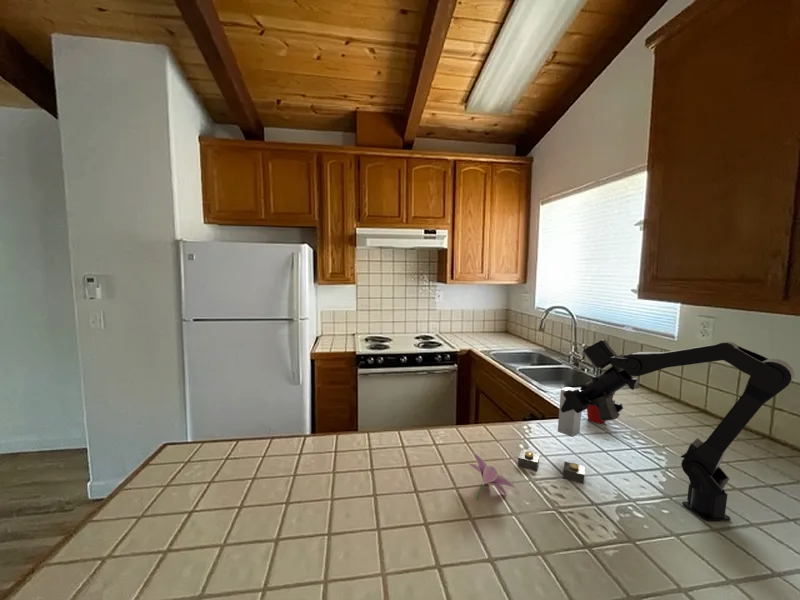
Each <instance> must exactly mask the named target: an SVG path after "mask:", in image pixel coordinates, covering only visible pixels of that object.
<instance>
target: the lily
mask: <svg viewBox="0 0 800 600" xmlns="http://www.w3.org/2000/svg"><path fill="white" fill-rule="evenodd" d="M471 453H472V455H473V457H474V458H475V461H476V463H477V464H476V463H470V462H469V463H468V465H469V466H470V467H472V468H473V469H475V470H476V471H478V473H480V475H481V478H482V484H481V486H480V489H479V491H478V495H477V498H476V501H478V500H479V498H480V494H481V491H482V489H483V487H484V485H486V484H490V485H494V486H496V488H498V490H500V491H501V493H503V495H505V496H507V495H508V494H507V492H506V490H505V488H504V487H503V486H506V487H510V488H514V489H517V487H516V486H515V484H513V483H512V482H511V481H510V480H509V479H507V478H506V477H505V476H503V475H501V474H498V472H497V469H496V468H495V466H493V465H488V464H487V463H486V461H485V460H484V459H483V458H482V457H480V456H479V455H478V454H477V453H476V452H474V451H471Z"/></svg>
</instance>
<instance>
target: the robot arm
mask: <svg viewBox="0 0 800 600" xmlns="http://www.w3.org/2000/svg"><path fill="white" fill-rule="evenodd" d="M582 353H583V354H584V355H585V357H586V358H587V359H588V360H589V362H590V364H592V366H593V368H595V369H597V370H598V369H600V370H601V371H603V370H605V371H603V372H602V373H600V374H598V375H597V376H594V377H593V378H591V380H590V381H588V382H586V383H584V384H582V385H580V389H578V388H575V387H571V388H572V389H569V390H567V391H566V392H564V393H563V395H564V397H565V398H566V399H565V402H564V404H563V406H562V408H561V411H562V412H563V413H564V412H567V411H570V410H573V409H574V411H575V412H576V413H580V412H581V413H582V412H584V411H587V408H588V407H589V405H593V406H595V405H597V409H598V411H599V414H600V419H601V420H602V421H605V422H606V421H614V420H616V419H619V417H620V415H621V414H620V412H622V411H623V410H624V407H623V404H622V403H619V402H616V400H614V398H612V397H611V396H613V395H614V394H616V392H618V391H619V390H621V389H623V388H624V387H626V386H628V387H629V389H630V390H636V389H638V388H639V380H640V379H639V378H636V377H641V376H644V375H648V374H651V373H653V372H657V371H660V370H663V369H667V368H672V367H673V368H674V367H682V366H690V365H696V364H703V363H712V362H719V361H724V362H726V363H728V364H729V365H731V366H733V367H734V368H736V369H737V370H739V371H741V373H744V374H746V375H748V376H749V379H748V380H747V381H746V385H745V388H744V390H743V392H742V395H741V396H740V397H739V398H738V400H737V401H736V402H735V404H733V406H732V407H731V408H730V409H729V411H728V412H727V414H726V415H725V416H724V417H723V418H722V420H721V421H720V422H719V424H718V425H717V426H716V427H715V429H714V430H713V431H712V432H711V434H710V435H709V436H708V438H707V439H705V440H704V441H702V440H700V439H699V438H698V437H696V438H695V439H694V440H692V442H691V443H690V444H689V446H688V449H686V450H685V451H684V452H683V453H682V454H681V456H680V457H681V458H682V461H681V463H680V465H681V468H682V471H683V472H684V474H685V475H686V476H687V477H688V479H689V484H688V490H687V498H686V500H685V501H683V500H682V502H681V504H682V505H683V506H685V507H686V508H687V509H689V510H690V511H692V512H693V513H694V514H696V515H697V516H698V517H700V518H702V519H703V520H704V521H707V522H716V521H717V522H718V521H731V517H730V516H729V515H728V514H726V511H727V503H728V502H727V501H728V495H729V494H728V493H727V492H725V490H724V488H725V487H726V485H727V484H728V482H729V480H730V477H729V476H728V475H727V474H726V472H725V471H724V470H723V469H722V468H721V467H720V466H721V463H722V461H723V459H724V456H725V453H726V451H727V449H728V447H730V445H731V444H732V442H734V440H735V439H736V438H737V437H738V435H740V433H741V432H742V431H743V429H744V428H745V427H746V426H747V425H748V423H749V422H750V420H752V418H753V417H754V416H755V415H756V413H757V412H758V411H759V410H760V408H761V407H762V406H763V405H764V404H765V403H767V402H768V401H770V400H771V399H772V398H774V397H775V396H776V395H779V393H780V392H782V391H783V390H785V389H786V388H787V387H788V386H789V385H790V384H791V383H792V381H793V380H794V377H795V370H794V369H793V367H792V366H791V365H790V364H789V363H788V362H786V361H784V360H782V359H779V358H768V357H767V356H763V355H762V354H759V353H757V352H755V351H752V350H749V349H746V348H744V347H742V346H739V345H738V344H737V343H735V342H732V341H722V342H719V343H716V344H709V345H703V346H697V347H696V346H695V347H690V348H684V349H677V350H672V351H662V352H661V351H638V352H633V353H630V354H617V353H616V352H615V351H614V349H612V347H611V346H610V345H609V343H608V342H607V340H606V339H601V340H599V341H598V342H595V343H594V344H592V345H588V346H587V347H586V348H585V349H584V350H583V351H582ZM610 366H611V367H610ZM609 367H610V368H609ZM607 368H608V369H607ZM579 390H582V391H579ZM614 396H615V395H614ZM614 396H613V397H614Z"/></svg>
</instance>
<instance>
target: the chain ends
mask: <svg viewBox="0 0 800 600" xmlns="http://www.w3.org/2000/svg"><path fill="white" fill-rule="evenodd" d="M540 457H541V455H540V454H536V453H533V452H531V451H526V450H520V452H519V455H518V460H517V467H519V468H523V469H527V470H530V471H534V472H537V471H538V468H539V465H540ZM585 471H586V466H585V465H581V464H578V463H574V462H569V461H564V463H563V471H562V479H563V480H567V481H570V482H574V483H576V484H577V483H578V484H582V485H584V484H585V473H586V472H585Z"/></svg>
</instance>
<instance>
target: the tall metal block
mask: <svg viewBox="0 0 800 600" xmlns="http://www.w3.org/2000/svg"><path fill="white" fill-rule="evenodd" d="M572 388H573V387H570V386H566V387H564V388H561V389H560V396H559V397H560V398H559V408H558V409H559V410H558V420H557V421H558V422H557V433H560V434H563V435H565V436H569V437H570V438H571V437H572V438H573V437H575V436H578V435H579V434H580V433H581V423H582V421H581V420H582V412H580V413H576V412H575V411H574V409H573V410H570V411H567V412H564V413H563V412H562V411H561V408H562V406H563V404H564V402H565V399H566V398H565V397H564V395H563V393H564V392H566V391H567V390H569V389H572ZM579 391H582V390H580V389H579Z"/></svg>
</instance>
